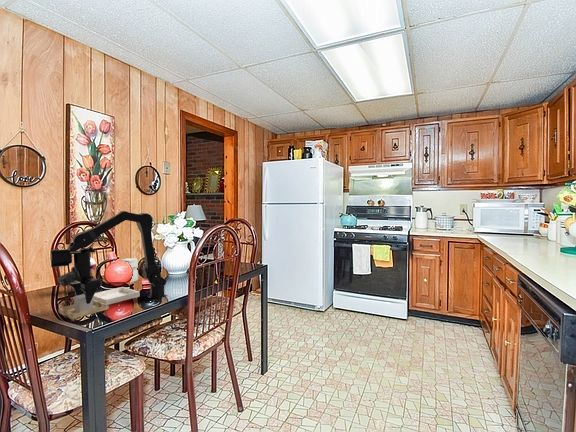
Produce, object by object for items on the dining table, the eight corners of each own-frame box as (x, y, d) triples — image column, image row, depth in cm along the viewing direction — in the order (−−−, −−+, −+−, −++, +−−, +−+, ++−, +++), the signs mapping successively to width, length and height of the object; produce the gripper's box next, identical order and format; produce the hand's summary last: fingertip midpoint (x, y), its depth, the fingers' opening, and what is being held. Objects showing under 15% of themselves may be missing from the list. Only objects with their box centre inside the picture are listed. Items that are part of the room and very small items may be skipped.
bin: (139, 297, 149) (139, 291, 149) (106, 306, 136) (105, 300, 136) (122, 291, 157) (122, 286, 157) (89, 299, 145) (89, 294, 145)
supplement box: (129, 283, 173) (129, 260, 172) (117, 282, 175) (117, 260, 174) (138, 280, 180) (138, 258, 180) (127, 279, 182) (126, 257, 181)
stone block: (93, 309, 130) (93, 295, 130) (80, 313, 126) (79, 298, 126) (87, 307, 133) (87, 293, 133) (74, 310, 129) (74, 296, 129)
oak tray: (108, 309, 131) (108, 305, 131) (73, 319, 121) (72, 314, 120) (93, 304, 139) (93, 299, 139) (58, 312, 128) (58, 308, 128)
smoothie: (92, 287, 166) (91, 249, 165) (100, 289, 161) (98, 250, 160) (74, 290, 159) (73, 251, 158) (82, 293, 154) (80, 253, 153)
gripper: (49, 264, 127) (51, 303, 128) (69, 270, 117) (71, 312, 118) (80, 260, 137) (81, 296, 137) (101, 265, 126) (102, 303, 127)
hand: (83, 301), depth 130 cm, fingers open, 8 cm apart
